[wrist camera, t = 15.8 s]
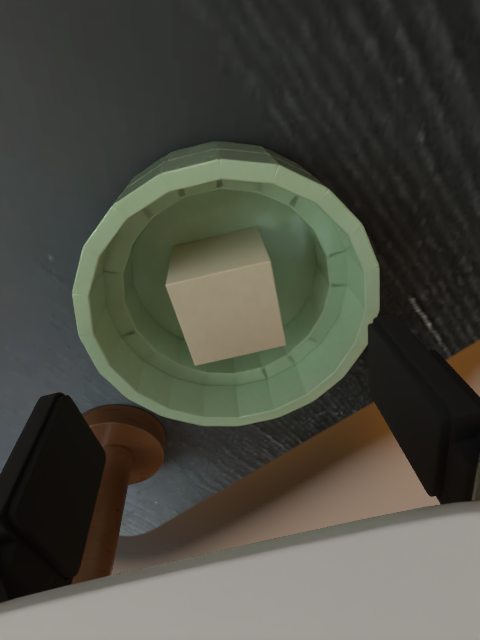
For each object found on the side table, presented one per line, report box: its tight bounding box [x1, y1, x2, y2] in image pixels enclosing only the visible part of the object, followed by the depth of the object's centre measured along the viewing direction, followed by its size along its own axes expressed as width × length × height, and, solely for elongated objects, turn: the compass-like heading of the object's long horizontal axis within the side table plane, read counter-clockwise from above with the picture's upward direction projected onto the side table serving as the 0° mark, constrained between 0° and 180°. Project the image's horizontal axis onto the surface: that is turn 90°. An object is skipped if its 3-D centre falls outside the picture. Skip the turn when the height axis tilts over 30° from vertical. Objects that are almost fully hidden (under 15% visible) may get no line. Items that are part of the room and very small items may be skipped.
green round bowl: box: [72, 141, 380, 426], centre depth 16 cm, size 12×12×5 cm
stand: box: [72, 405, 166, 584], centre depth 16 cm, size 6×6×19 cm
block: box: [166, 226, 286, 366], centre depth 16 cm, size 4×4×4 cm
